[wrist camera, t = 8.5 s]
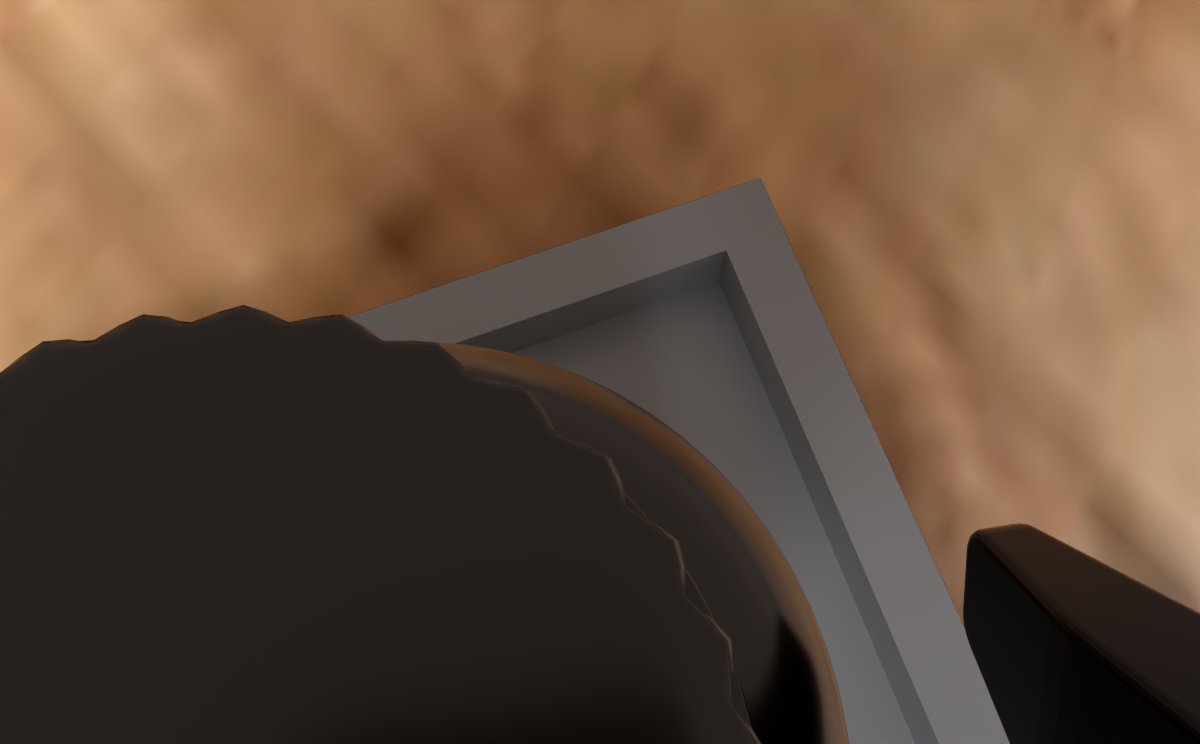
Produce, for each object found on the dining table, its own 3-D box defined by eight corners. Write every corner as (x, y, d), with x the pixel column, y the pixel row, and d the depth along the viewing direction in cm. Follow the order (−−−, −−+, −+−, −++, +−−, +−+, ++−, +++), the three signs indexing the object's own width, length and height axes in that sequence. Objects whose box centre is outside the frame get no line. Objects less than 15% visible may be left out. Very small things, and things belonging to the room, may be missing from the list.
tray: (1088, 998, 15) (1151, 1040, 13) (212, 1364, 14) (154, 1463, 12) (747, 225, 18) (760, 178, 17) (38, 467, 17) (-27, 443, 15)
